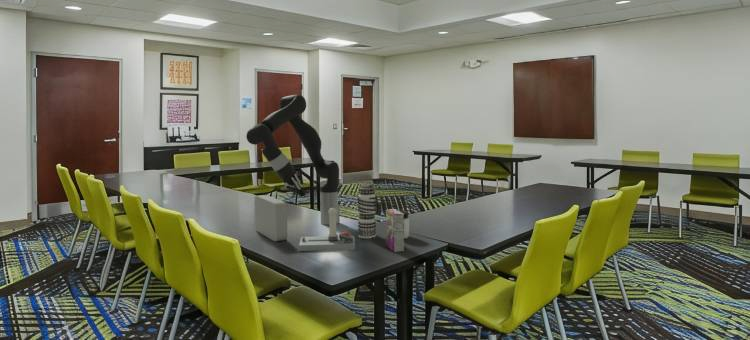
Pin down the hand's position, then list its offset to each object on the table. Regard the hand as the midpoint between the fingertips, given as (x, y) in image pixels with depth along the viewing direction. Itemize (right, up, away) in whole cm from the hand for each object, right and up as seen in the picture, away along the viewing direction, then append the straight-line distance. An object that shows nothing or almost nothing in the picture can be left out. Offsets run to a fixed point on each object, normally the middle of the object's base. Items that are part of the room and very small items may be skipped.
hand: (304, 195), depth 210 cm
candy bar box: (+40, -23, -7) cm, 47 cm away
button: (+19, -19, +2) cm, 27 cm away
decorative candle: (+28, -20, +14) cm, 38 cm away
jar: (+44, -21, +13) cm, 50 cm away
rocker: (+19, -19, -6) cm, 27 cm away
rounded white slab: (-19, -20, +17) cm, 32 cm away
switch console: (+11, -22, -2) cm, 25 cm away
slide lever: (+13, -19, -2) cm, 24 cm away
